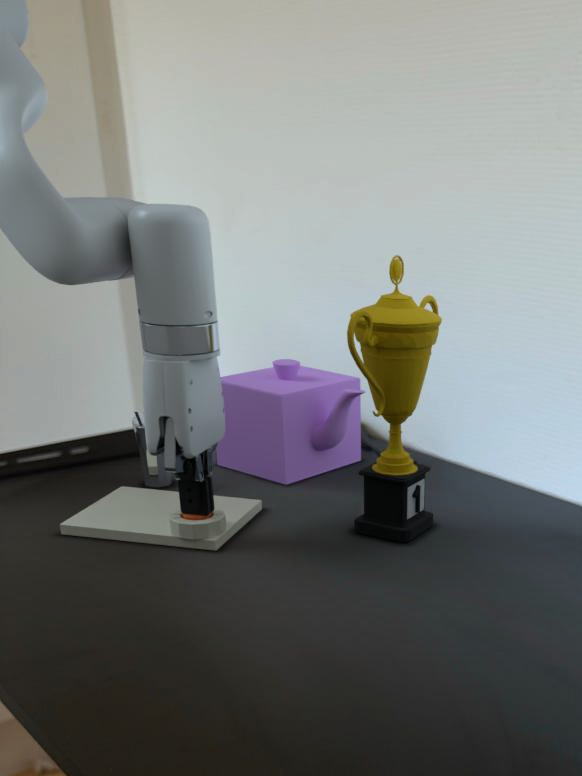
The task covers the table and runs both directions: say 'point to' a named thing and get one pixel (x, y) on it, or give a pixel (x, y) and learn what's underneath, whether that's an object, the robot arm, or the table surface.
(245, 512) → the scale
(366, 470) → the trophy
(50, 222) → the robot arm
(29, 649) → the table surface
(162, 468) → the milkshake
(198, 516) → the button
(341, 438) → the teapot
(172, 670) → the table surface
